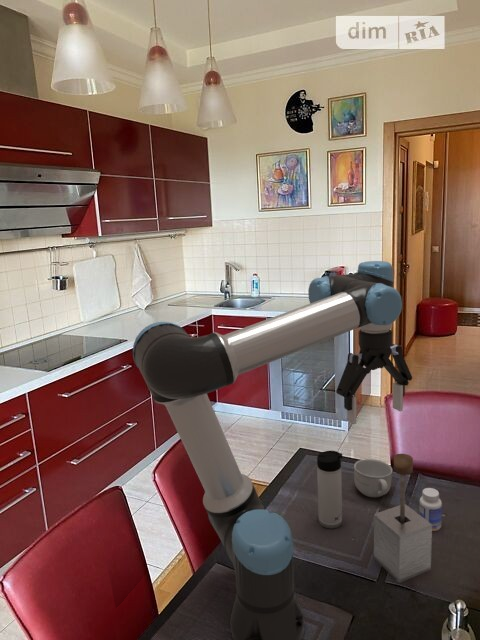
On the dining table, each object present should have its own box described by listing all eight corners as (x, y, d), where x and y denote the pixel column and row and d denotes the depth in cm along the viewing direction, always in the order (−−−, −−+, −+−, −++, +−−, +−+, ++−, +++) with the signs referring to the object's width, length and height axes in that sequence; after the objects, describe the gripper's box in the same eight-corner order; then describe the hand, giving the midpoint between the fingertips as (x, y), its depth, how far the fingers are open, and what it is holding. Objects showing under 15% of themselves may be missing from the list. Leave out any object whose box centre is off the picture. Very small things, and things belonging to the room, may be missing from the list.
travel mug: (343, 529, 129) (342, 460, 125) (318, 528, 130) (316, 459, 126) (343, 515, 135) (342, 448, 130) (319, 513, 136) (317, 447, 132)
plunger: (400, 541, 110) (401, 468, 105) (381, 525, 116) (381, 455, 111) (423, 533, 112) (425, 461, 108) (403, 517, 118) (405, 448, 114)
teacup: (351, 481, 151) (350, 458, 149) (387, 480, 150) (387, 456, 148) (360, 509, 137) (360, 483, 135) (399, 508, 137) (400, 482, 135)
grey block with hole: (399, 583, 110) (399, 536, 107) (367, 551, 120) (367, 508, 118) (430, 570, 113) (432, 524, 111) (397, 540, 124) (398, 498, 121)
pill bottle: (443, 522, 129) (445, 489, 127) (437, 534, 125) (439, 500, 123) (422, 516, 133) (423, 483, 130) (416, 527, 128) (417, 493, 126)
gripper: (339, 341, 104) (340, 433, 109) (429, 324, 114) (426, 409, 119) (319, 334, 111) (322, 421, 116) (406, 318, 121) (404, 399, 125)
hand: (375, 415), depth 117 cm, fingers open, 13 cm apart
